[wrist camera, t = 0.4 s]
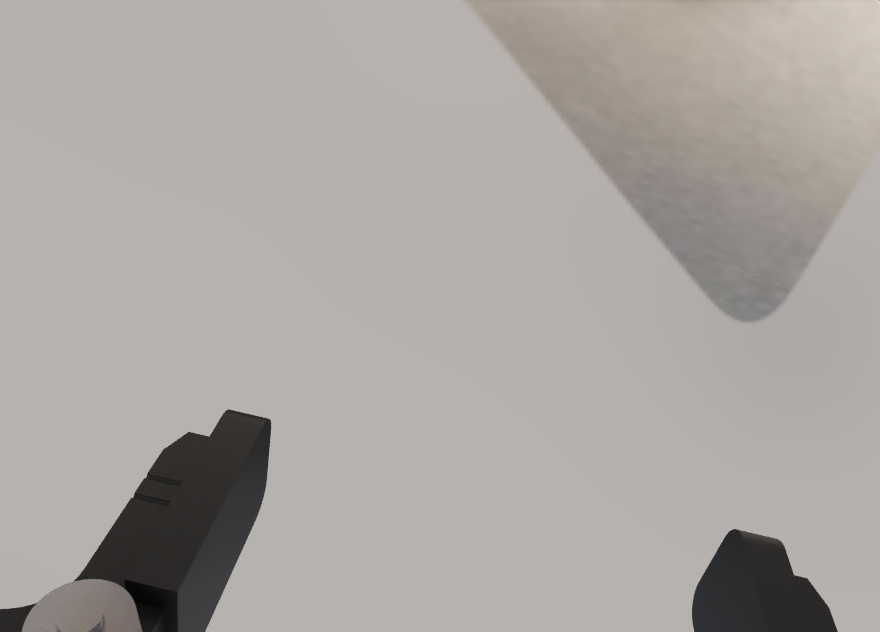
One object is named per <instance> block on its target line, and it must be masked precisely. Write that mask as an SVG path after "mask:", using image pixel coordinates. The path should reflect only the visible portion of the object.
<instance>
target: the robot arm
mask: <svg viewBox="0 0 880 632" xmlns="http://www.w3.org/2000/svg"><path fill="white" fill-rule="evenodd" d="M270 435H271V421H270V419H267V418H263V417H259V416H254V415H250V414H246V413H241V412H237V411H233V410H227V411H225V413H224V414H223V415H222V417H221V418H220V420H219V422H218V423H217V425H216V427H215V429H214V430H213V432H212V434H211V435H210V437H208V436H204V435H199V434H195V433H191V432H188V433H187V434H185V435H184V436H182V437H181V438H179V439H178V440H177V441H175V442H174V443H172V444H171V445H169V446H168V447H167V448H165V449H164V450H163V451H162V453H161V454H160V455H159V457H158V458H157V460H156V462H155V463H154V464H153V466H152V468H151V469H150V471H149V472H148V474H147V477H146V478H144V480H143V481H142V483H141V484H140V486H139V487H138V489H137V490H136V492H135V494H134V497H133V498H131V499H130V501H129V502H128V504H127V505H126V507H125V509H124V510H123V511H122V513H121V514H120V516H119V517H118V519H117V520H116V522H115V524H114V525H113V526H112V528H111V529H110V531H109V532H108V534H107V535H106V537H105V539H104V540H103V541H102V543H101V545H100V546H99V548H98V549H97V551H96V552H95V554H94V555H93V557H92V558H91V560H90V561H89V563H88V564H87V566H86V567H85V569H84V570H83V571H82V573H81V574H80V575H79V577H78V578H77V579H76V580H75V581H74V582H71V583H68V584H65V585H63V586H61V587H59V588H57V589H55V590H53V591H51V592H50V593H48V594H47V595H46V596H44V597H43V598H42V599H41V600H40V601H38V603H36V604H33V605H29V606H25V607H20V608H11V609H0V632H205V630H206V628H207V626H208V624H209V622H210V619H211V617H212V615H213V613H214V611H215V608H216V606H217V604H218V602H219V600H220V597H221V595H222V593H223V591H224V589H225V586H226V584H227V582H228V580H229V577H230V575H231V573H232V571H233V569H234V566H235V564H236V562H237V560H238V558H239V555H240V553H241V551H242V549H243V547H244V544H245V542H246V540H247V538H248V535H249V533H250V531H251V529H252V527H253V524H254V522H255V520H256V518H257V515H258V513H259V510H260V507H261V504H262V500H263V497H264V493H265V488H266V482H267V469H268V457H269V447H270ZM692 620H693V627H694V632H838V631H837V629H836V626H835V623H834V620H833V618H832V615H831V612H830V609H829V607H828V606H827V604H825V602H824V600H823V599H822V598H821V596H820V595H819V594H818V592H817V591H816V590H815V589H814V587H813V586H812V584H811V583H810V582H809V580H808V579H807V578H803V577H799V576H795V575H794V574H793V571H792V568H791V565H790V562H789V559H788V556H787V553H786V550H785V547H784V545H783V544H782V542H781V541H780V540H778V539H775V538H770V537H766V536H762V535H758V534H753V533H749V532H745V531H740V530H736V529H734V530H731V531H729V533H728V534H727V535H726V537H725V538H724V540H723V542H722V543H721V545H720V547H719V548H718V550H717V552H716V554H715V556H714V557H713V559H712V561H711V562H710V564H709V566H708V568H707V569H706V571H705V573H704V574H703V576H702V578H701V580H700V581H699V583H698V585H697V588H696V591H695V594H694V598H693V606H692Z"/></svg>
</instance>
